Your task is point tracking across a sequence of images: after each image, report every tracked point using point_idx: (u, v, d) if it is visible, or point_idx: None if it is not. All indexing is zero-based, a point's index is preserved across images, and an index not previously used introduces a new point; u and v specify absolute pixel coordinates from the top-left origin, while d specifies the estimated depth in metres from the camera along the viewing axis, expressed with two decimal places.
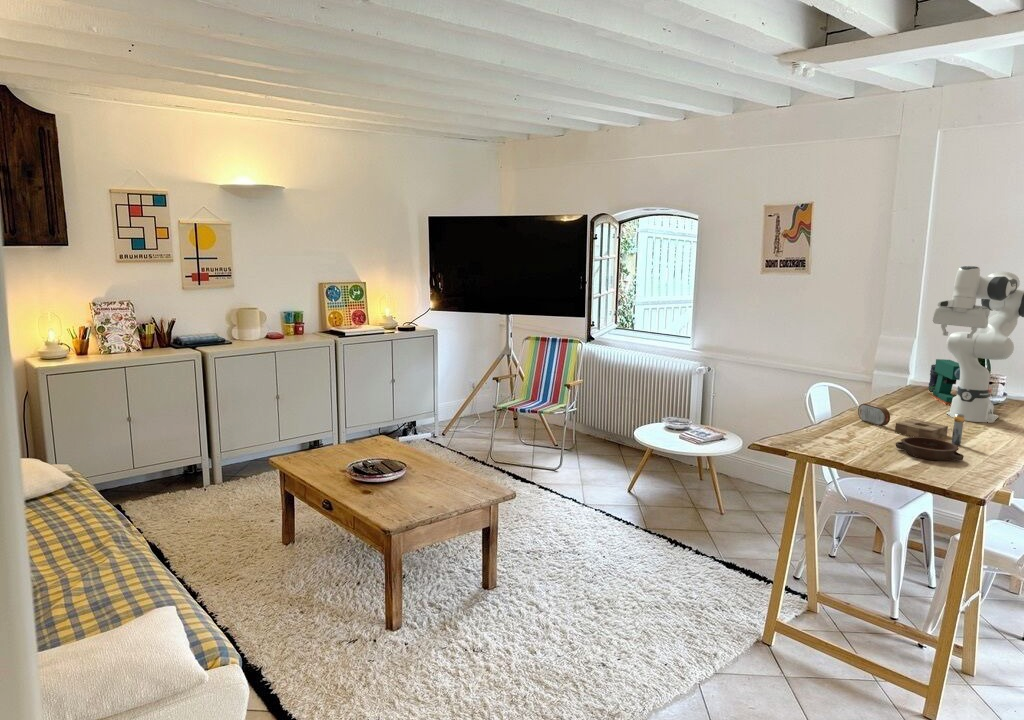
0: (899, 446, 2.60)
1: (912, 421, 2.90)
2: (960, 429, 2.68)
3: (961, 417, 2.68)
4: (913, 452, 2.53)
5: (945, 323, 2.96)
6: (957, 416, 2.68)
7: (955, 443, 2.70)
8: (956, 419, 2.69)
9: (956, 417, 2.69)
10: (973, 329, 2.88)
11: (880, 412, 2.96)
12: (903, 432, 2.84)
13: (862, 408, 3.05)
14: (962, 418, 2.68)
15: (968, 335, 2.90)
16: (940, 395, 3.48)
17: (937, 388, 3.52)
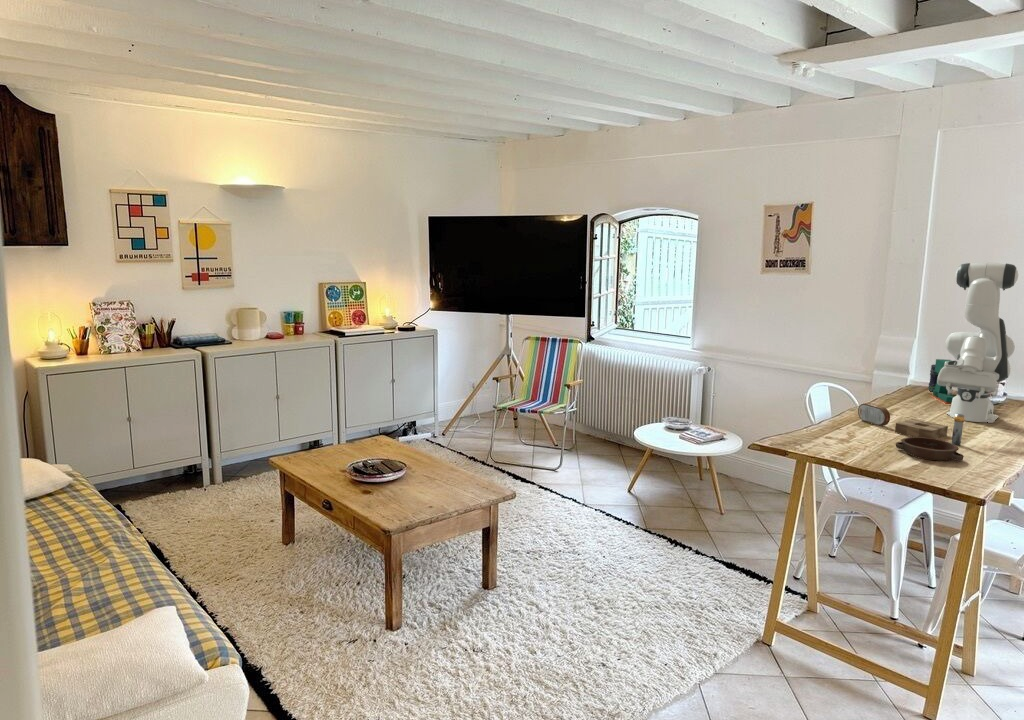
0: (899, 446, 2.60)
1: (912, 421, 2.90)
2: (960, 429, 2.68)
3: (961, 417, 2.68)
4: (913, 452, 2.53)
5: (952, 381, 2.81)
6: (957, 416, 2.68)
7: (955, 443, 2.70)
8: (956, 419, 2.69)
9: (956, 417, 2.69)
10: (983, 389, 2.75)
11: (880, 412, 2.96)
12: (903, 432, 2.84)
13: (862, 408, 3.05)
14: (962, 418, 2.68)
15: (977, 394, 2.75)
16: (940, 395, 3.48)
17: (937, 388, 3.52)
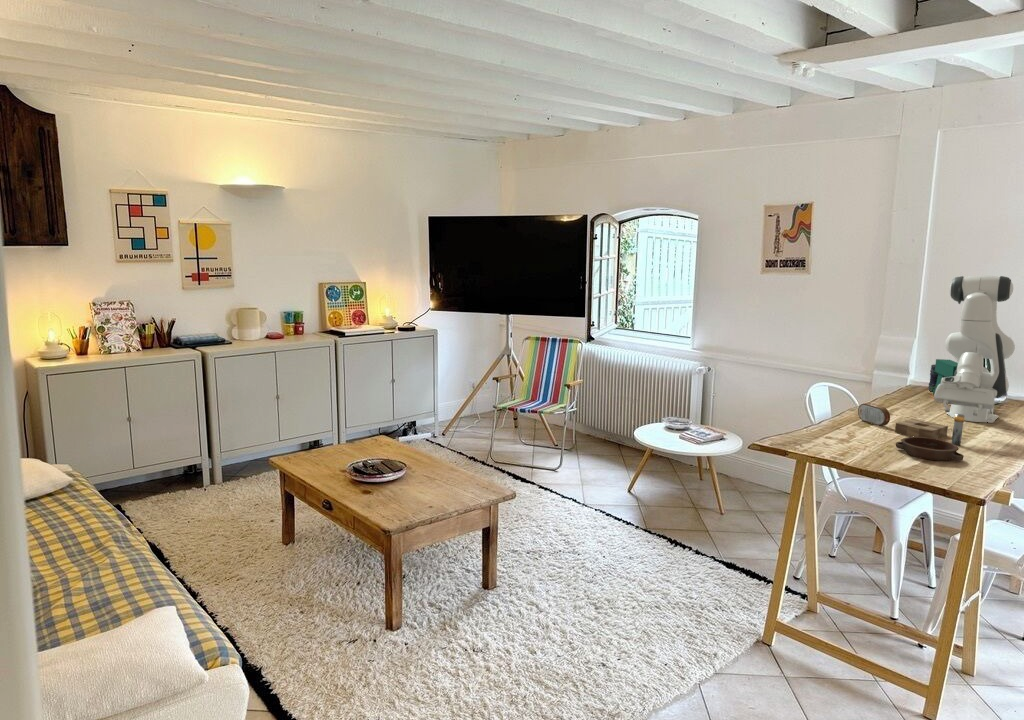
0: (899, 446, 2.60)
1: (912, 421, 2.90)
2: (960, 429, 2.68)
3: (961, 417, 2.68)
4: (913, 452, 2.53)
5: (949, 398, 2.76)
6: (957, 416, 2.68)
7: (955, 443, 2.70)
8: (956, 419, 2.69)
9: (956, 417, 2.69)
10: (981, 406, 2.69)
11: (880, 412, 2.96)
12: (903, 432, 2.84)
13: (862, 408, 3.05)
14: (962, 418, 2.68)
15: (975, 411, 2.69)
16: None
17: None
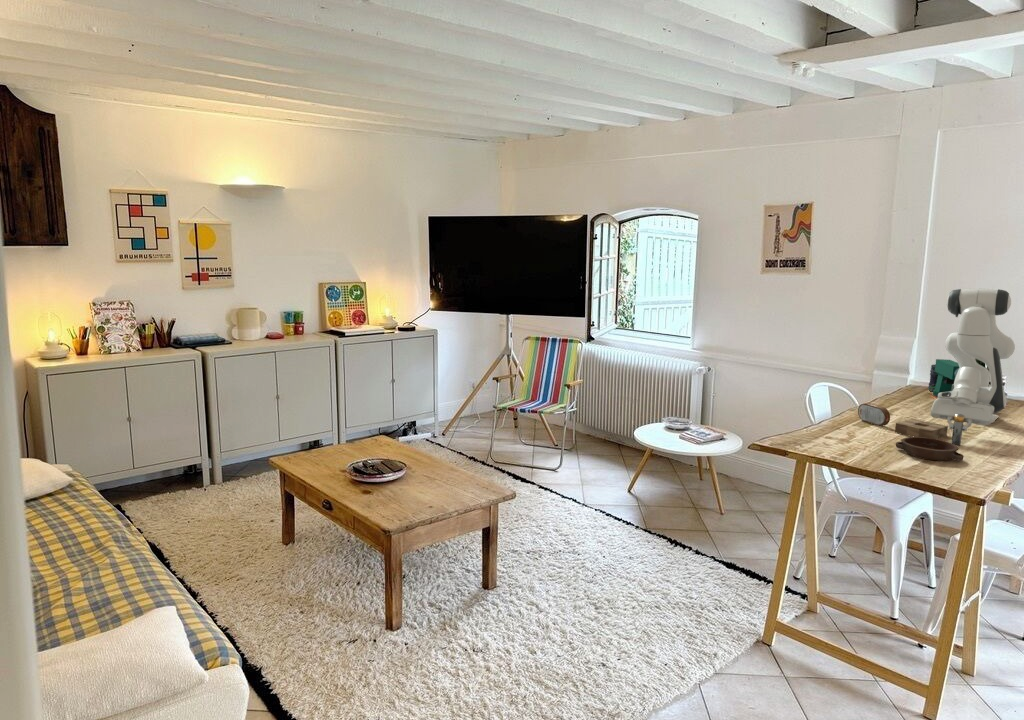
0: (899, 446, 2.60)
1: (912, 421, 2.90)
2: (960, 429, 2.68)
3: (961, 417, 2.68)
4: (913, 452, 2.53)
5: (946, 413, 2.73)
6: (957, 416, 2.68)
7: (955, 443, 2.70)
8: (956, 419, 2.69)
9: (956, 417, 2.69)
10: (970, 421, 2.68)
11: (880, 412, 2.96)
12: (903, 432, 2.84)
13: (862, 408, 3.05)
14: (962, 418, 2.68)
15: (964, 426, 2.68)
16: None
17: (937, 388, 3.52)
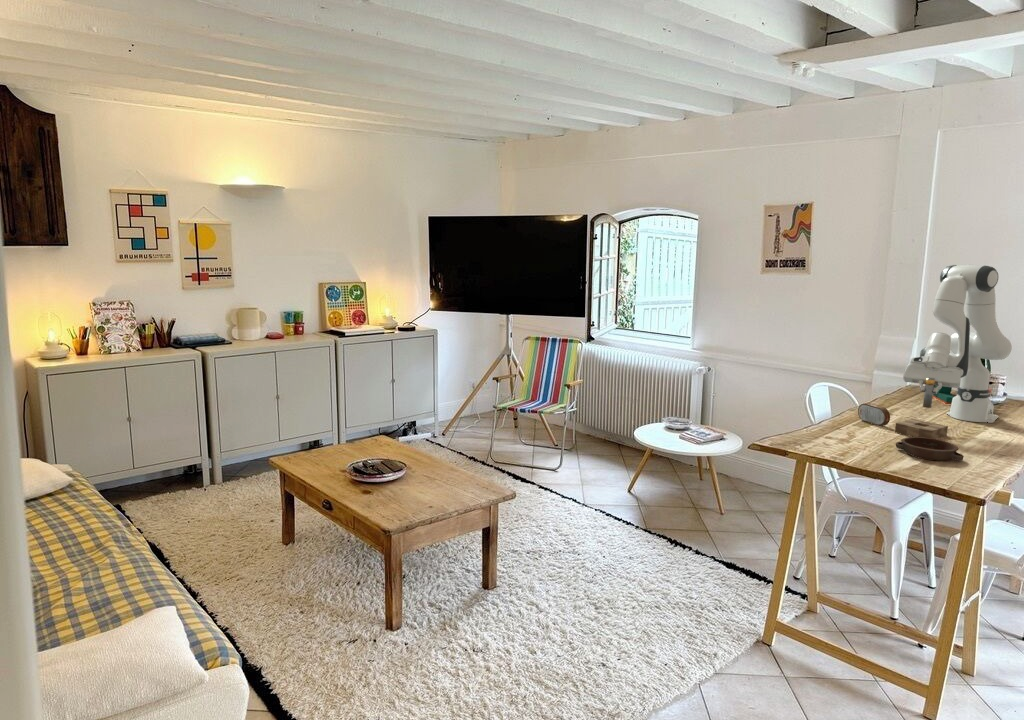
0: (899, 446, 2.60)
1: (912, 421, 2.90)
2: (931, 392, 2.80)
3: (932, 380, 2.79)
4: (913, 452, 2.53)
5: (917, 377, 2.84)
6: (928, 379, 2.79)
7: (926, 405, 2.81)
8: (927, 382, 2.80)
9: (927, 380, 2.80)
10: (940, 384, 2.80)
11: (880, 412, 2.96)
12: (903, 432, 2.84)
13: (862, 408, 3.05)
14: (933, 381, 2.79)
15: (934, 389, 2.79)
16: (940, 395, 3.48)
17: None
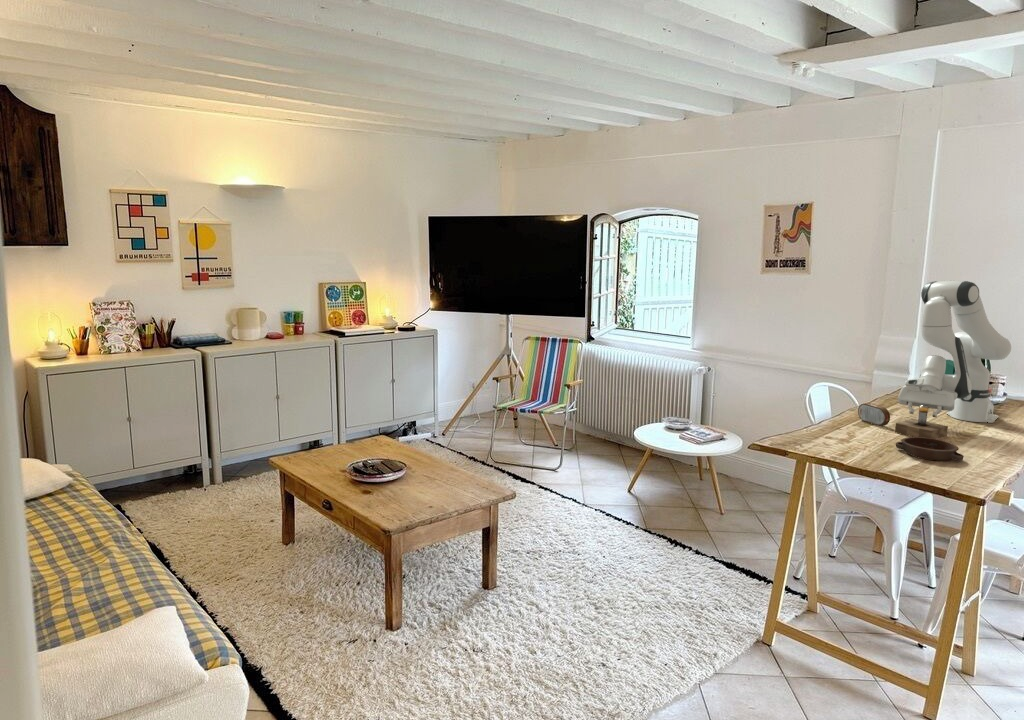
0: (899, 446, 2.60)
1: (912, 421, 2.90)
2: (924, 419, 2.83)
3: (925, 408, 2.82)
4: (913, 452, 2.53)
5: (912, 400, 2.87)
6: (921, 407, 2.83)
7: None
8: (920, 410, 2.83)
9: (920, 408, 2.83)
10: (939, 407, 2.81)
11: (880, 412, 2.96)
12: (903, 432, 2.84)
13: (862, 408, 3.05)
14: (926, 409, 2.82)
15: (934, 412, 2.81)
16: None
17: None
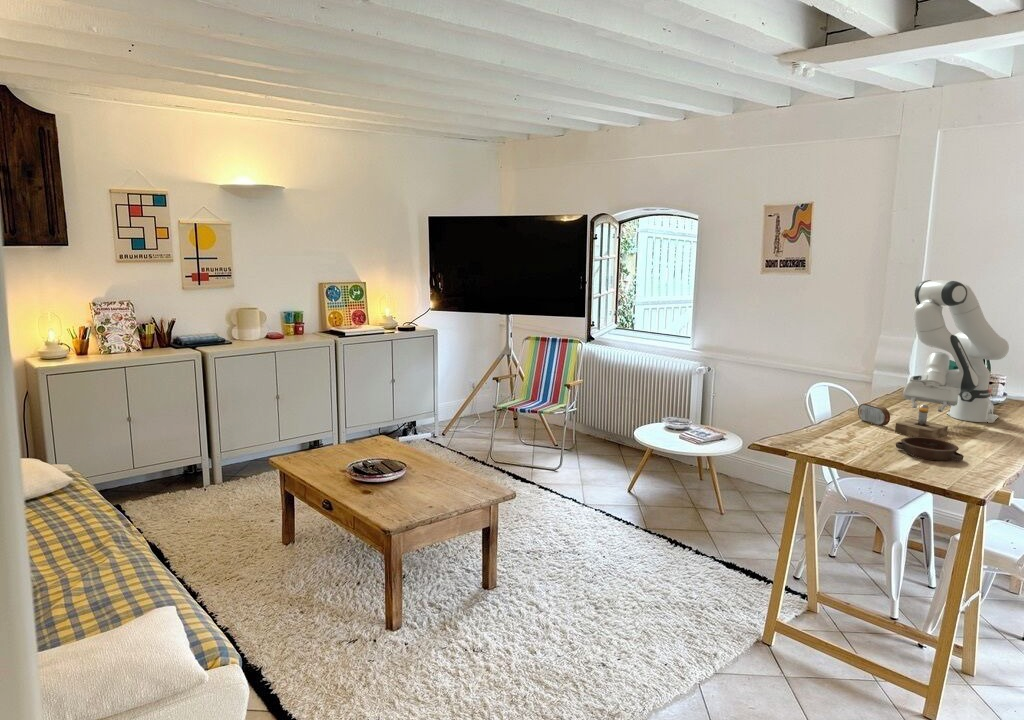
0: (899, 446, 2.60)
1: (912, 421, 2.90)
2: (924, 419, 2.83)
3: (925, 408, 2.82)
4: (913, 452, 2.53)
5: (916, 395, 2.97)
6: (921, 407, 2.83)
7: None
8: (920, 410, 2.83)
9: (920, 408, 2.83)
10: (945, 403, 2.91)
11: (880, 412, 2.96)
12: (903, 432, 2.84)
13: (862, 408, 3.05)
14: (926, 409, 2.82)
15: (940, 407, 2.91)
16: None
17: None
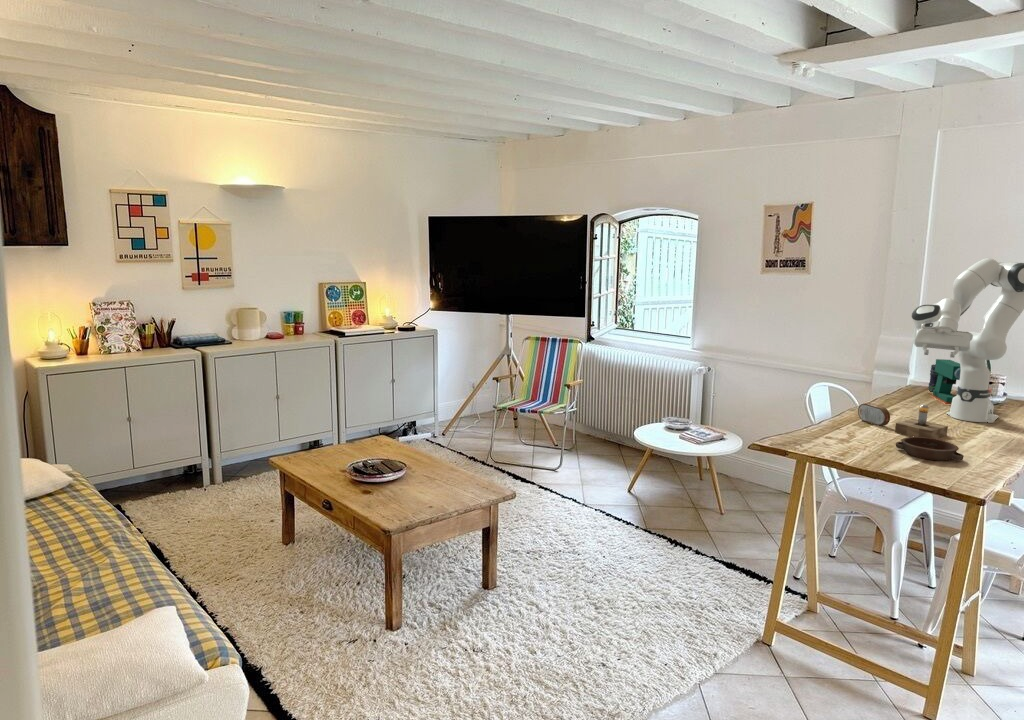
0: (899, 446, 2.60)
1: (912, 421, 2.90)
2: (924, 419, 2.83)
3: (925, 408, 2.82)
4: (913, 452, 2.53)
5: (928, 342, 2.94)
6: (921, 407, 2.83)
7: None
8: (920, 410, 2.83)
9: (920, 408, 2.83)
10: (957, 348, 2.88)
11: (880, 412, 2.96)
12: (903, 432, 2.84)
13: (862, 408, 3.05)
14: (926, 409, 2.82)
15: (952, 353, 2.88)
16: (940, 395, 3.48)
17: (937, 388, 3.52)
